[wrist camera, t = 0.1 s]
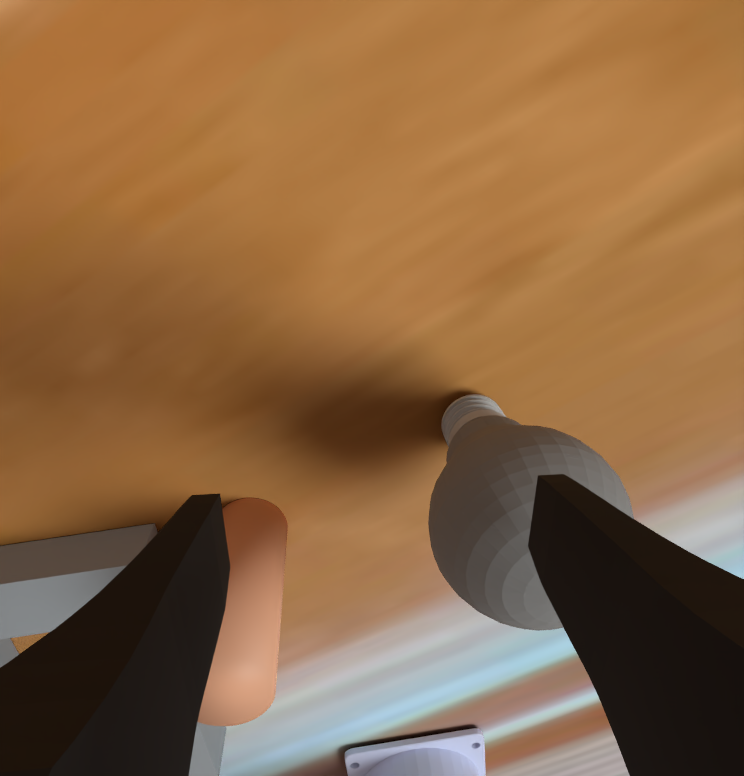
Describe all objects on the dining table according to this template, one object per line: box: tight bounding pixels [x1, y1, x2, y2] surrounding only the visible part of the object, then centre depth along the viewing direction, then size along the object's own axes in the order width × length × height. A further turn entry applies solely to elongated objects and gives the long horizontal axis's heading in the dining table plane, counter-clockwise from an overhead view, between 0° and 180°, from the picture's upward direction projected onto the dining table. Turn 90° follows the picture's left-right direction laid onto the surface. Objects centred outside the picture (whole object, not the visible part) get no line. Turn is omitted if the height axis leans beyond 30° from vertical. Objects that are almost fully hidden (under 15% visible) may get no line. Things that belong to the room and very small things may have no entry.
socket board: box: [0, 523, 226, 776], centre depth 25 cm, size 14×12×2 cm
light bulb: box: [428, 394, 634, 630], centre depth 19 cm, size 6×6×10 cm
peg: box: [198, 498, 288, 726], centre depth 21 cm, size 3×3×8 cm
